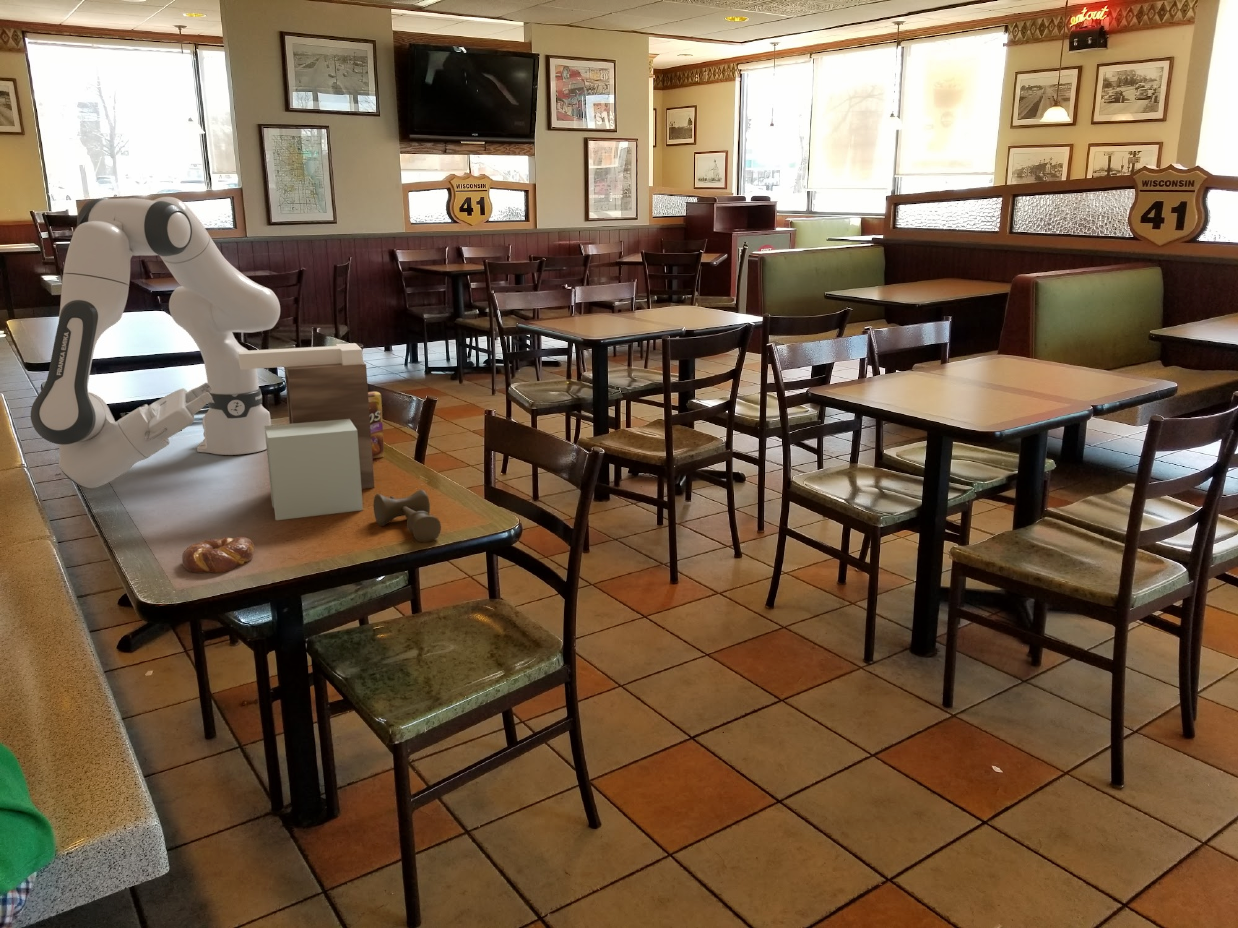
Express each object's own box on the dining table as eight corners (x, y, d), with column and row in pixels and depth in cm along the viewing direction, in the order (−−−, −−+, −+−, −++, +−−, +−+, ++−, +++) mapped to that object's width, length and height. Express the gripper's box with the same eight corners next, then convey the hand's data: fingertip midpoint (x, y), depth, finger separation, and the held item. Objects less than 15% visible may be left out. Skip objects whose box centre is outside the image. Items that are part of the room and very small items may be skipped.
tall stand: (294, 482, 200) (283, 361, 193) (366, 474, 206) (358, 356, 199) (299, 495, 191) (287, 369, 184) (374, 487, 197) (366, 364, 190)
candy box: (347, 463, 215) (342, 397, 211) (341, 458, 218) (336, 394, 214) (385, 457, 220) (381, 393, 215) (379, 453, 223) (374, 390, 219)
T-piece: (239, 364, 189) (237, 349, 189) (356, 357, 198) (355, 343, 197) (241, 371, 181) (239, 356, 181) (363, 364, 190) (362, 349, 189)
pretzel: (236, 545, 165) (234, 525, 164) (270, 560, 159) (268, 540, 158) (168, 564, 156) (166, 543, 155) (201, 581, 150) (199, 559, 149)
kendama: (402, 550, 164) (366, 515, 180) (454, 542, 169) (414, 508, 185) (401, 518, 163) (365, 485, 179) (454, 510, 168) (414, 479, 184)
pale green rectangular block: (272, 504, 186) (264, 425, 181) (355, 495, 192) (349, 418, 188) (276, 520, 177) (267, 437, 173) (362, 509, 183) (357, 430, 179)
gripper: (132, 429, 171) (200, 387, 174) (138, 406, 189) (199, 368, 192) (156, 456, 174) (221, 414, 177) (159, 431, 192) (219, 393, 195)
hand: (210, 390), depth 184 cm, fingers open, 8 cm apart
